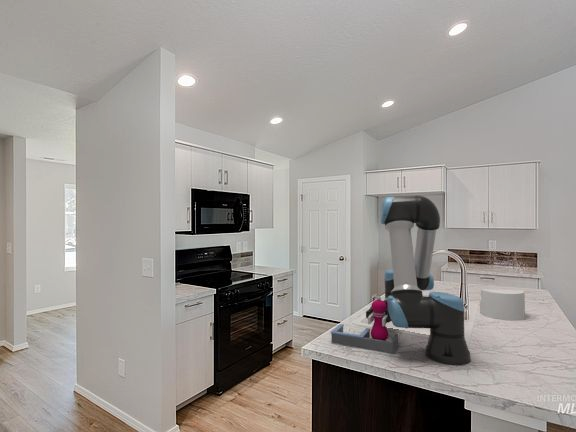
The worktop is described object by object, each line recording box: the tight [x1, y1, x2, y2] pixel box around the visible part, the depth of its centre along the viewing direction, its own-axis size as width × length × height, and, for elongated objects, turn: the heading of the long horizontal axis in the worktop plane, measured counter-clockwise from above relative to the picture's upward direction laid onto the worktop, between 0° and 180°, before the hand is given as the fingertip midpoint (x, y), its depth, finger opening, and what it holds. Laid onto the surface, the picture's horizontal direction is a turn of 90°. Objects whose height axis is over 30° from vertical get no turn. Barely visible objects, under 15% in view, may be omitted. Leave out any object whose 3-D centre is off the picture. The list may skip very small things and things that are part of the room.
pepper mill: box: [370, 295, 390, 341], centre depth 138 cm, size 7×7×20 cm
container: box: [479, 288, 526, 322], centre depth 176 cm, size 20×20×13 cm
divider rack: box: [330, 323, 400, 354], centre depth 140 cm, size 26×12×5 cm, turn 61°
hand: (375, 321), depth 133 cm, fingers closed on pepper mill, 5 cm apart
